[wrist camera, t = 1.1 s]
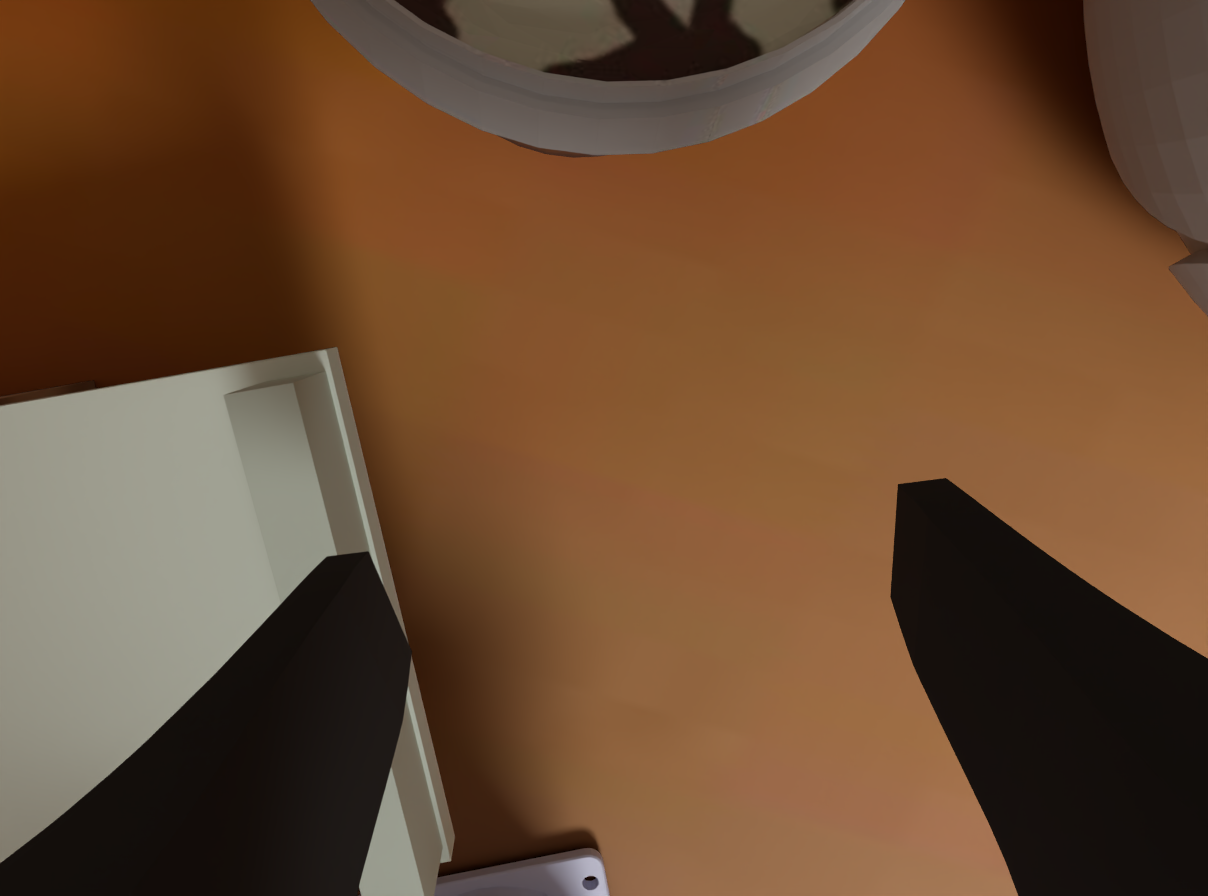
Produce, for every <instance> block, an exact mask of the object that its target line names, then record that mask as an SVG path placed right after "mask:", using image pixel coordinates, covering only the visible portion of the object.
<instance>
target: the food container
mask: <svg viewBox="0 0 1208 896" xmlns="http://www.w3.org/2000/svg"><path fill="white" fill-rule="evenodd" d="M904 1H905V0H311V2H312V3H313V4H314V5H315V7H316V8H317V9H318V11H319V12H320V13H321V14H322V16H323V17H324V18H325V19H326V21H327V22H328V23H329V24H330V25H331V26H332V27H333V28H334V29H335V30H337V31H338V32H339V33H340V34H341V35H342V36H343V37H344V38H345V39H346V40H347V41H348V42H349V43H350V44H351V45H352V46H353V47H354V48H355V49H357V50H358V51H359V52H360V53H361V54H362V55H363V56H364V57H365V58H366V59H367V60H368V61H369V62H370V63H371V64H372V65H373V66H374V67H376V68H377V69H378V70H380V71H381V72H383V73H384V74H386V75H387V76H388V77H390V78H391V79H393V80H394V81H396V82H397V83H398V84H400V85H401V86H403V87H404V88H406V89H407V90H408V91H410V92H411V93H413V94H414V95H416V96H417V97H418V98H420V99H421V100H423V101H424V102H426V103H427V104H429V105H431V106H433V107H435V108H437V109H439V110H441V111H443V112H445V113H447V114H449V115H451V116H454V117H456V118H458V119H460V120H462V121H464V122H466V123H468V124H470V125H472V126H474V127H476V128H478V129H480V130H482V131H486V132H489V133H492V134H495V135H498V136H500V137H502V138H504V139H506V140H508V141H510V142H512V143H514V144H516V145H518V146H520V147H524V148H527V149H531V150H534V151H537V152H541V153H544V154H549V155H557V156H566V157H594V156H604V155H617V154H646V153H656V152H661V151H666V150H671V149H676V148H681V147H686V146H690V145H695V144H700V143H705V142H709V141H712V140H714V139H717V138H720V137H722V136H725V135H727V134H730V133H733V132H735V131H738V130H740V129H743V128H746V127H748V126H751V125H753V124H756V123H759V122H761V121H763V120H765V119H766V118H768V117H770V116H772V115H773V114H775V113H777V112H778V111H780V110H782V109H784V108H785V107H787V106H789V105H790V104H792V103H794V102H796V101H797V100H799V99H801V98H802V97H804V96H806V95H808V94H809V93H811V92H812V91H814V90H815V89H816V88H817V87H819V86H820V85H821V84H822V83H823V82H825V81H826V80H827V79H828V78H830V77H831V76H832V75H833V74H835V73H836V72H837V71H838V70H839V69H841V68H842V67H843V66H844V65H846V64H847V63H848V62H849V61H850V60H852V59H853V58H854V57H855V56H857V55H858V54H859V53H860V52H861V51H862V49H863V48H864V47H865V46H866V45H867V44H868V43H869V42H870V41H871V39H872V38H873V37H874V36H875V35H876V34H877V33H878V32H879V31H880V30H881V28H882V27H883V26H884V25H885V24H886V23H887V22H888V21H889V20H890V18H891V17H892V16H893V15H894V14H895V13H896V12H897V11H898V10H899V9H900V7H901V6H902V4H903V3H904Z"/></svg>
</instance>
